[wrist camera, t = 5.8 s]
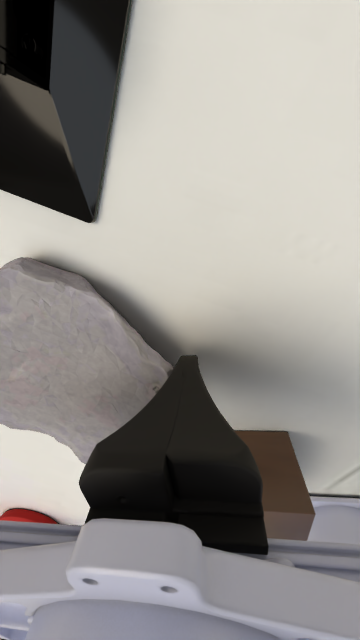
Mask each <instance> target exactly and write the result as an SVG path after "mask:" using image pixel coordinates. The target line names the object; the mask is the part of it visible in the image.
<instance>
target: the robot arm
mask: <svg viewBox="0 0 360 640" xmlns="http://www.w3.org/2000/svg"><path fill="white" fill-rule="evenodd" d="M79 485H80V488H81V491H82V493H83V495H84V496H85V498H86V500H87V502H88V504H89V506H90V507H91V508H90V510H89V513H88V516H87V519H86V521H85V524H84V525H83V526H78V525H63V524H48V523H33V522H18V521H3V520H0V638H2V639H6V640H360V498H339V497H314V496H310V499H311V502H312V505H313V507H314V510H315V513H316V515H315V518H314V521H313V524H312V527H311V530H310V533H309V536H308V539H307V541H301V540H286V539H271V538H267V534H266V529H265V523H264V511H263V506H262V492H263V482H262V478H261V474H260V471H259V469H258V466H257V464H256V461H255V459H254V457H253V455H252V453H251V451H250V449H249V447H248V446H247V445H246V443H245V442H244V441H243V440H242V439H241V438H240V437H239V436H238V435H237V434H236V432H235V431H234V430H233V429H232V428H231V426H230V425H229V424H228V422H227V421H226V420H225V418H224V417H223V416H222V414H221V413H220V411H219V410H218V408H217V407H216V405H215V403H214V402H213V400H212V398H211V396H210V394H209V392H208V390H207V388H206V386H205V384H204V381H203V379H202V376H201V373H200V370H199V364H198V357H197V356H196V355H190V356H181V357H180V359H179V361H178V362H177V364H176V366H175V368H174V369H173V371H172V373H171V374H170V376H169V377H168V379H167V380H166V382H165V383H164V384H163V386H162V387H161V388H160V390H159V391H158V392H157V393H156V395H155V396H154V397H153V398H152V399H151V400H150V401H149V402H148V404H147V405H146V406H145V407H144V408H143V409H142V410H141V411H140V412H139V413H137V414H136V415H135V416H134V417H133V418H132V419H131V420H129V421H128V422H127V423H126V424H125V425H123V426H122V427H121V428H119V429H118V430H117V431H115V432H114V433H112V434H111V435H109V436H108V437H106V438H105V439H103V440H102V441H100V442H99V443H97V444H96V446H95V448H94V450H93V451H92V453H91V455H90V457H89V459H88V461H87V463H86V465H85V468H84V470H83V472H82V474H81V477H80V480H79Z"/></svg>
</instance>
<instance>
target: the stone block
mask: <svg viewBox="0 0 360 640" xmlns="http://www.w3.org/2000/svg"><path fill="white" fill-rule="evenodd" d="M173 369H174V368H173V366H172V364H170V363H168V362H167V361H165V360H164V359H163V358H162V356H161V355H160V354H159V353H158V352H156V351H155V350H153V349H152V348H151V347H150V346H149V345H148V344H146V342H145V341H144V340H143V338H142V337H141V335H140V334H139V333H137V331H136V330H135V329H134V328H132V327H131V326H130V325H129V324H128V322H127V321H126V320H125V319H124V318H123V317H122V316H121V315H120V314H119V313H118V312H117V311H116V310H115V309H114V308H113V307H112V305H111V304H110V303H109V302H107V301H106V300H105V299H104V298H103V297H102V296H101V295H99V294H98V293H97V292H96V291H95V290H94V288H93V287H92V285H91V284H90V283H89V282H88V281H87V280H86V279H85V278H84V277H82V276H80V275H78V274H76V273H73V272H67V271H64V270H62V269H58V268H55V267H52V266H49V265H46V264H44V263H41V262H38V261H35V260H33V259H31V258H23V257H21V258H17V259H14V260H13V261H10V262H9V263H7V264H5V265H4V266H3V267H2V268H1V269H0V424H3V425H5V426H7V427H9V428H12V429H20V430H31V431H36V432H41V433H44V434H48V435H50V436H52V437H54V438H55V439H56V440H57V441H58V442H60V443H62V444H64V445H66V446H69V447H70V448H71V449H72V450H73V452H74V453H75V455H76V456H77V457H78V459H79V460H80V461H81V462H83V463H84V464H86V463H87V461H88V459H89V457H90V455H91V453H92V451H93V450H94V448H95V446H96V444H97V443H99V442H100V441H102V440H103V439H105V438H106V437H108V436H109V435H111V434H112V433H114V432H115V431H117V430H118V429H119V428H121V427H122V426H123V425H125V424H126V423H127V422H128V421H129V420H131V419H132V418H133V417H134V416H135V415H136V414H137V413H139V412H140V411H141V410H142V409H143V408H144V407H145V406H146V405H147V404H148V402H149V401H150V400H151V399H152V398H153V397H154V396H155V395H156V393H157V392H158V391H159V390H160V388H161V387H162V386H163V384H164V383H165V382H166V380H167V379H168V377H169V376H170V374H171V373H172V371H173Z"/></svg>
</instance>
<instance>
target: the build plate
mask: <svg viewBox="0 0 360 640" xmlns="http://www.w3.org/2000/svg"><path fill="white" fill-rule="evenodd" d="M131 5H132V0H0V189H1V190H3V191H6V192H9V193H11V194H14V195H17V196H19V197H22V198H24V199H27V200H30V201H32V202H35V203H37V204H40V205H43V206H45V207H48V208H51V209H53V210H56V211H58V212H61V213H64V214H66V215H69V216H72V217H74V218H77V219H79V220H82V221H85V222H87V223H92V222H94V221H95V220H96V217H97V211H98V205H99V199H100V193H101V187H102V181H103V175H104V169H105V163H106V157H107V151H108V144H109V138H110V132H111V126H112V120H113V114H114V108H115V102H116V96H117V90H118V84H119V78H120V72H121V66H122V60H123V54H124V48H125V42H126V35H127V29H128V23H129V17H130V11H131Z"/></svg>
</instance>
